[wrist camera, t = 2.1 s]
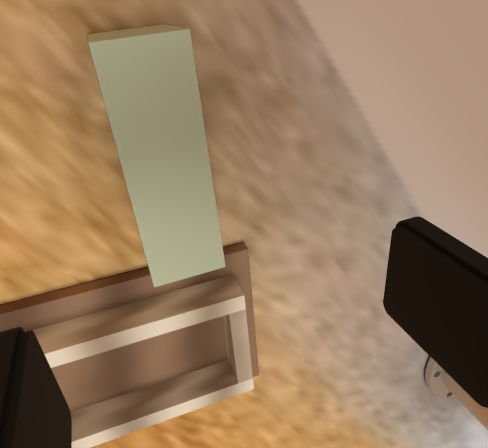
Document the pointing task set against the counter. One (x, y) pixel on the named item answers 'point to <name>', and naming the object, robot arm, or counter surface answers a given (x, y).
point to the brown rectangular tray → (144, 345)
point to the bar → (161, 146)
